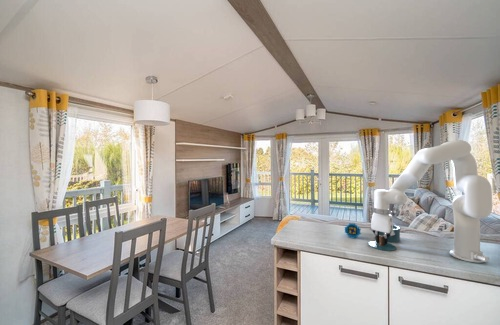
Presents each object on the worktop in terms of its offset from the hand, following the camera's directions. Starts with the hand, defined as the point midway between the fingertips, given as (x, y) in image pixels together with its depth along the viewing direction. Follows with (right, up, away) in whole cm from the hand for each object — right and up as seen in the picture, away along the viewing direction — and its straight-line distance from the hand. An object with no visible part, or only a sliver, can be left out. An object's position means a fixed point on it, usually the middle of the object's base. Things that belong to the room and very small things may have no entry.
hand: (381, 243), depth 124 cm
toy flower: (-8, -2, +20) cm, 22 cm away
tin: (+11, -2, +11) cm, 16 cm away
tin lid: (0, -2, 0) cm, 2 cm away
